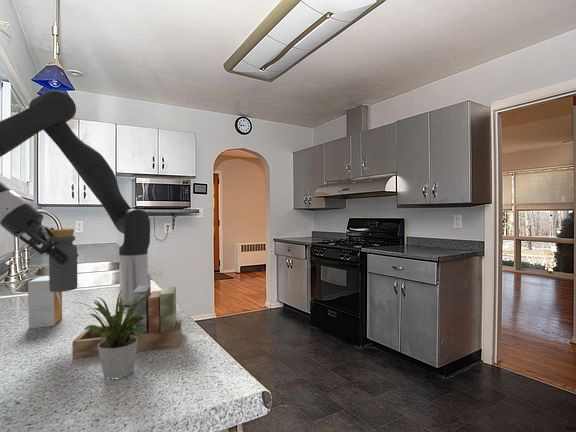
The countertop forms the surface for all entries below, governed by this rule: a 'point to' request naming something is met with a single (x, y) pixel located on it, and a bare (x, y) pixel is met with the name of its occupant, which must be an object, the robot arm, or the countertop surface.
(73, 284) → the bottle
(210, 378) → the countertop surface
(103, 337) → the house plant
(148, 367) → the countertop surface
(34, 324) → the small box
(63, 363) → the countertop surface
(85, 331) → the rack
